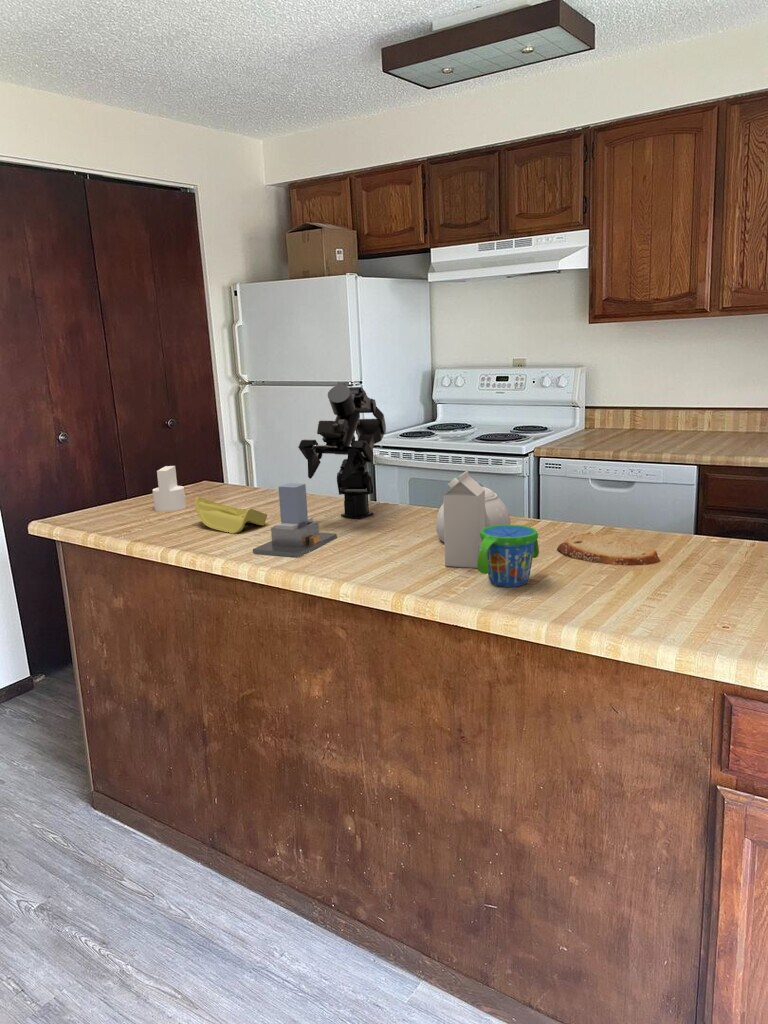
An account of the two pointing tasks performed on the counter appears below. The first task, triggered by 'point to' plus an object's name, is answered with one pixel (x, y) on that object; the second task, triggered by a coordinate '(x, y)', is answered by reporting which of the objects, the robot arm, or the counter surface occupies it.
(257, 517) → the plastic component
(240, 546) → the counter surface
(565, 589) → the counter surface
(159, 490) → the cylinder with rectangular tab
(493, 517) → the teapot
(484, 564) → the snack cup
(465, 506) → the milk carton
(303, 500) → the grey tall block
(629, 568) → the counter surface
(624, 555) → the slice of bread
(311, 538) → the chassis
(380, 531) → the counter surface
